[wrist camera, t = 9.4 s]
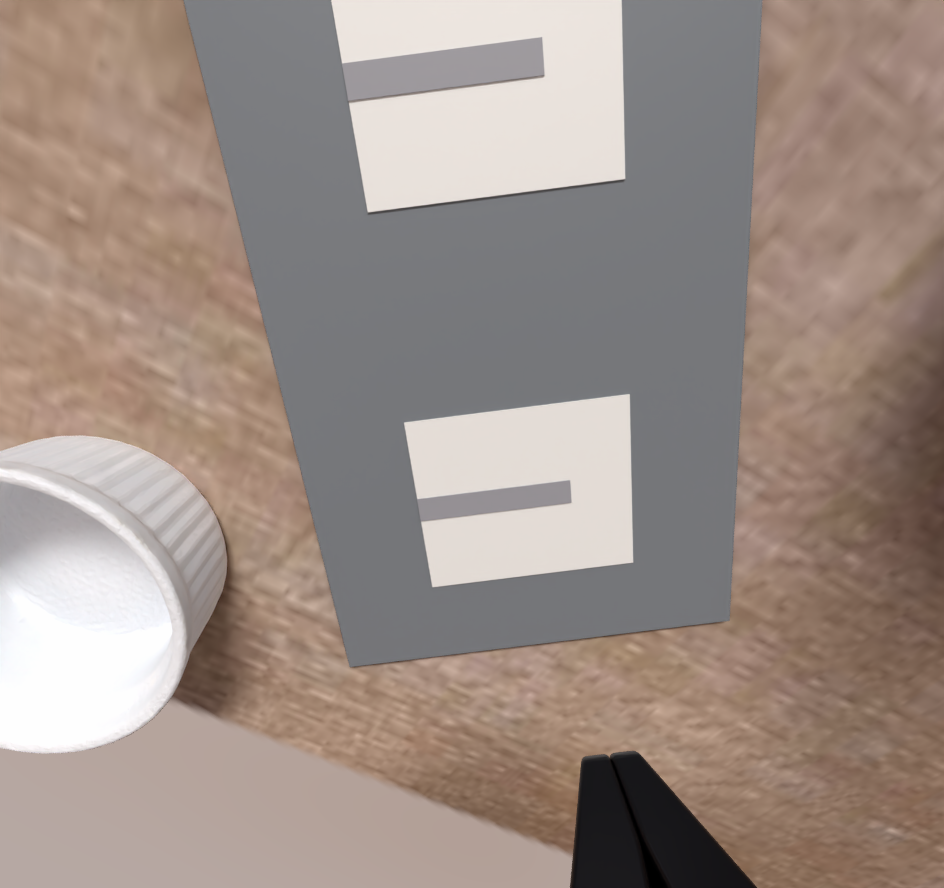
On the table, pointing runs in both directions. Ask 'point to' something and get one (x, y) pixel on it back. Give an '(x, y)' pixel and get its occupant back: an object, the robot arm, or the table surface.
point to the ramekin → (97, 589)
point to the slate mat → (500, 300)
